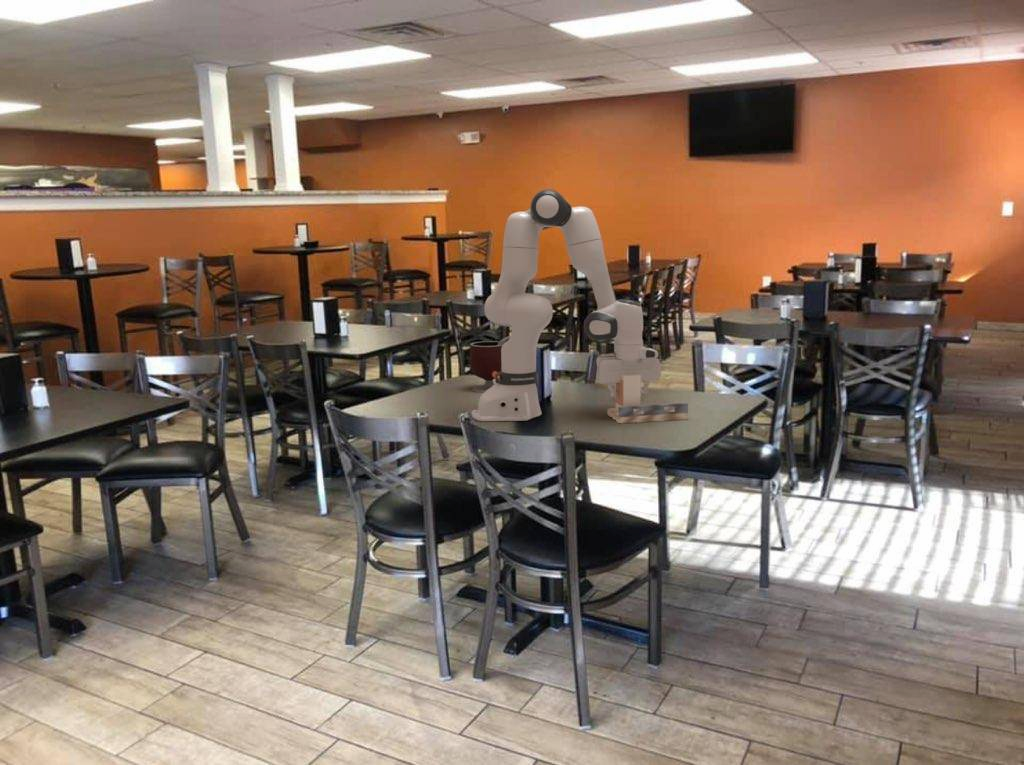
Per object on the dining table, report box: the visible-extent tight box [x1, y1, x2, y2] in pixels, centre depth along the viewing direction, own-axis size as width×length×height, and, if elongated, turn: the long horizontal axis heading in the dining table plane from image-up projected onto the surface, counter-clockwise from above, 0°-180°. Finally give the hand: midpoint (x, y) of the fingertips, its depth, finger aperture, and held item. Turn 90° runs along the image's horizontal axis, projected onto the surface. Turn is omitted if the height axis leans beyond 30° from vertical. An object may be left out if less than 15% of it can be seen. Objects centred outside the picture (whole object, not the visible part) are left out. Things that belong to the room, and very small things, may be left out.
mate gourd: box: [469, 335, 511, 394], centre depth 308 cm, size 16×14×20 cm
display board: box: [607, 402, 689, 424], centre depth 263 cm, size 22×12×5 cm, turn 101°
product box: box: [614, 374, 642, 411], centre depth 262 cm, size 8×6×12 cm
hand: (628, 395), depth 262 cm, fingers open, 8 cm apart
